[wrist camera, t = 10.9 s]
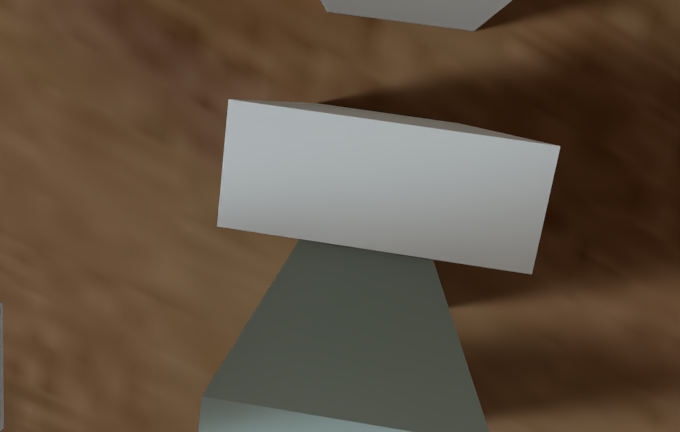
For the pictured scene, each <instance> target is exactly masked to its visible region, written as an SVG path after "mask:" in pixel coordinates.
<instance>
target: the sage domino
mask: <svg viewBox="0 0 680 432" xmlns="http://www.w3.org/2000/svg"><path fill="white" fill-rule="evenodd" d="M199 432H489V429H488V426H487V423H486V420H485V417H484V414H483V411H482V408H481V405H480V402H479V399H478V396H477V393H476V390H475V387H474V384H473V381H472V377H471V374H470V371H469V368H468V365H467V362H466V359H465V356H464V353H463V350H462V347H461V344H460V341H459V338H458V335H457V332H456V329H455V326H454V322H453V319H452V316H451V313H450V310H449V307H448V304H447V301H446V298H445V295H444V292H443V289H442V286H441V283H440V280H439V277H438V274H437V270H436V267H435V264H434V261H433V260H429V259H422V258H416V257H409V256H403V255H396V254H390V253H383V252H377V251H370V250H363V249H357V248H350V247H344V246H337V245H331V244H324V243H318V242H311V241H304V240H299V241H298V242H297V244H296V246H295V247H294V249H293V251H292V252H291V254H290V255H289V257H288V259H287V260H286V262H285V263H284V265H283V267H282V268H281V270H280V271H279V273H278V275H277V276H276V278H275V279H274V281H273V283H272V284H271V286H270V287H269V289H268V291H267V292H266V294H265V296H264V297H263V299H262V300H261V302H260V304H259V305H258V307H257V308H256V310H255V312H254V313H253V315H252V316H251V318H250V320H249V321H248V323H247V324H246V326H245V328H244V329H243V331H242V332H241V334H240V336H239V337H238V339H237V341H236V342H235V344H234V345H233V347H232V349H231V350H230V352H229V353H228V355H227V357H226V358H225V360H224V361H223V363H222V365H221V366H220V368H219V369H218V371H217V373H216V374H215V376H214V377H213V379H212V381H211V382H210V384H209V386H208V387H207V389H206V390H205V392H204V394H203V395H202V400H201V411H200V422H199Z"/></svg>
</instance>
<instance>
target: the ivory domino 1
mask: <svg viewBox="0 0 680 432" xmlns="http://www.w3.org/2000/svg"><path fill="white" fill-rule="evenodd" d="M511 1H512V0H321V2H322V4H323V5H324V7H325V9H326V10H327V12H333V13H341V14H348V15H356V16H363V17H371V18H378V19H386V20H394V21H401V22H409V23H416V24H424V25H431V26H439V27H447V28H454V29H462V30H469V31H475V30H476V29H477V28H479V27H480V26H481V25H482V24H484V23H485V22H486V21H487V20H489V19H490V18H491V17H492V16H494V15H495V14H496V13H497V12H498V11H500V10H501V9H502V8H503V7H505V6H506V5H507V4H508V3H510V2H511Z"/></svg>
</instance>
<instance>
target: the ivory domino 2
mask: <svg viewBox="0 0 680 432" xmlns="http://www.w3.org/2000/svg"><path fill="white" fill-rule="evenodd" d="M559 151H560V146H558V145H553V144H549V143H544V142H540V141H535V140H531V139H527V138H522V137H518V136H513V135H509V134H504V133H500V132H495V131H491V130H487V129H482V128H478V127H473V126H469V125H464V124H460V123H454V122H447V121H440V120H433V119H426V118H419V117H411V116H404V115H397V114H390V113H383V112H376V111H369V110H362V109H354V108H347V107H340V106H333V105H326V104H319V103H302V102H279V101H257V100H234V99H229V101H228V112H227V123H226V134H225V145H224V156H223V167H222V178H221V189H220V200H219V211H218V222H217V226H218V227H225V228H231V229H238V230H244V231H251V232H257V233H264V234H270V235H277V236H284V237H290V238H297V239H303V240H310V241H316V242H323V243H329V244H336V245H342V246H349V247H355V248H362V249H368V250H375V251H382V252H388V253H395V254H401V255H408V256H414V257H421V258H427V259H434V260H440V261H447V262H453V263H460V264H466V265H473V266H480V267H486V268H493V269H499V270H506V271H512V272H519V273H525V274H532V272H533V268H534V263H535V259H536V254H537V250H538V245H539V241H540V236H541V232H542V227H543V223H544V218H545V214H546V209H547V205H548V200H549V196H550V191H551V187H552V182H553V178H554V173H555V169H556V164H557V160H558V155H559Z"/></svg>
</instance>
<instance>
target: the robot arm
mask: <svg viewBox="0 0 680 432" xmlns="http://www.w3.org/2000/svg"><path fill="white" fill-rule="evenodd" d="M3 428H4V403H3V303H1V302H0V431H1V430H2V429H3Z"/></svg>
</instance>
